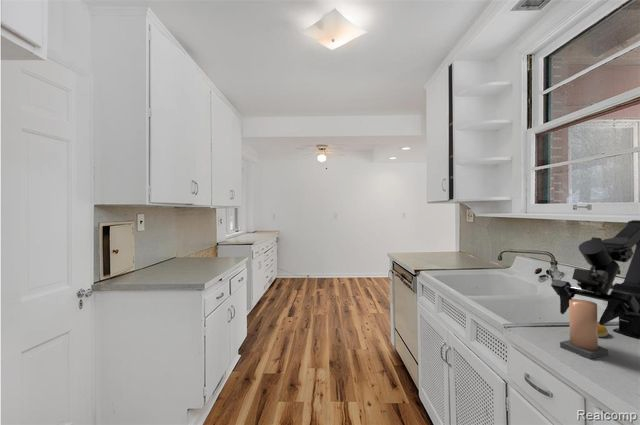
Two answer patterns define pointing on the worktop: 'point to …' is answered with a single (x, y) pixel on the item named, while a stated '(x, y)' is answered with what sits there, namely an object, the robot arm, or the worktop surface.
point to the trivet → (585, 353)
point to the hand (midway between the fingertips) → (580, 318)
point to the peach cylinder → (583, 324)
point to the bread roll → (602, 330)
